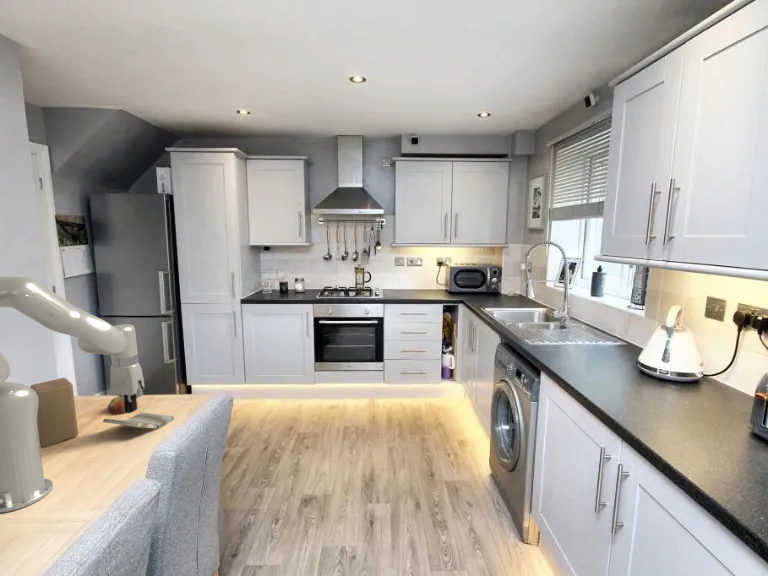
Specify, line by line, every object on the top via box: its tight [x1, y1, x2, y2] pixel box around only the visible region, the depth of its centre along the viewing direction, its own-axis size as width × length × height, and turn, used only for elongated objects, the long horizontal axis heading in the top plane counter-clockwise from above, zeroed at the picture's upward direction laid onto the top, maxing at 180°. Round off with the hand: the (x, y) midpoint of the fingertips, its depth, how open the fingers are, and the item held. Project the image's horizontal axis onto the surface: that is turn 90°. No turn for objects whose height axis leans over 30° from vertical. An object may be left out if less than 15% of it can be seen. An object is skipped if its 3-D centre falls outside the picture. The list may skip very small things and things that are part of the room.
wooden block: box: [29, 377, 79, 448], centre depth 132 cm, size 10×10×20 cm
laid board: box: [126, 411, 175, 430], centre depth 145 cm, size 8×15×2 cm, turn 76°
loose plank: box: [102, 418, 158, 429], centre depth 137 cm, size 9×15×1 cm, turn 75°
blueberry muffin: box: [107, 395, 139, 416], centre depth 156 cm, size 10×10×8 cm
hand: (131, 411), depth 132 cm, fingers closed
